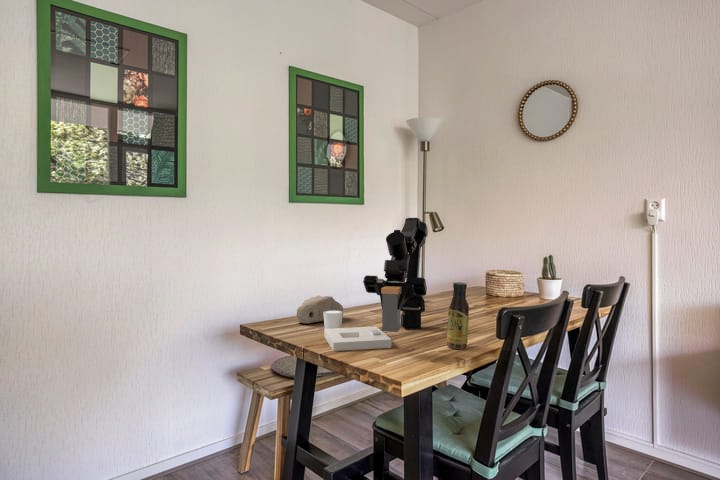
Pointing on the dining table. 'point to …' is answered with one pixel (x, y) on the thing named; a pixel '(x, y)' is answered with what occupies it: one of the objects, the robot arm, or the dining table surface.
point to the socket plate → (356, 338)
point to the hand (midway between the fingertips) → (390, 308)
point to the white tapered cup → (333, 319)
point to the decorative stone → (316, 309)
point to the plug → (390, 308)
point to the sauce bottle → (458, 318)
